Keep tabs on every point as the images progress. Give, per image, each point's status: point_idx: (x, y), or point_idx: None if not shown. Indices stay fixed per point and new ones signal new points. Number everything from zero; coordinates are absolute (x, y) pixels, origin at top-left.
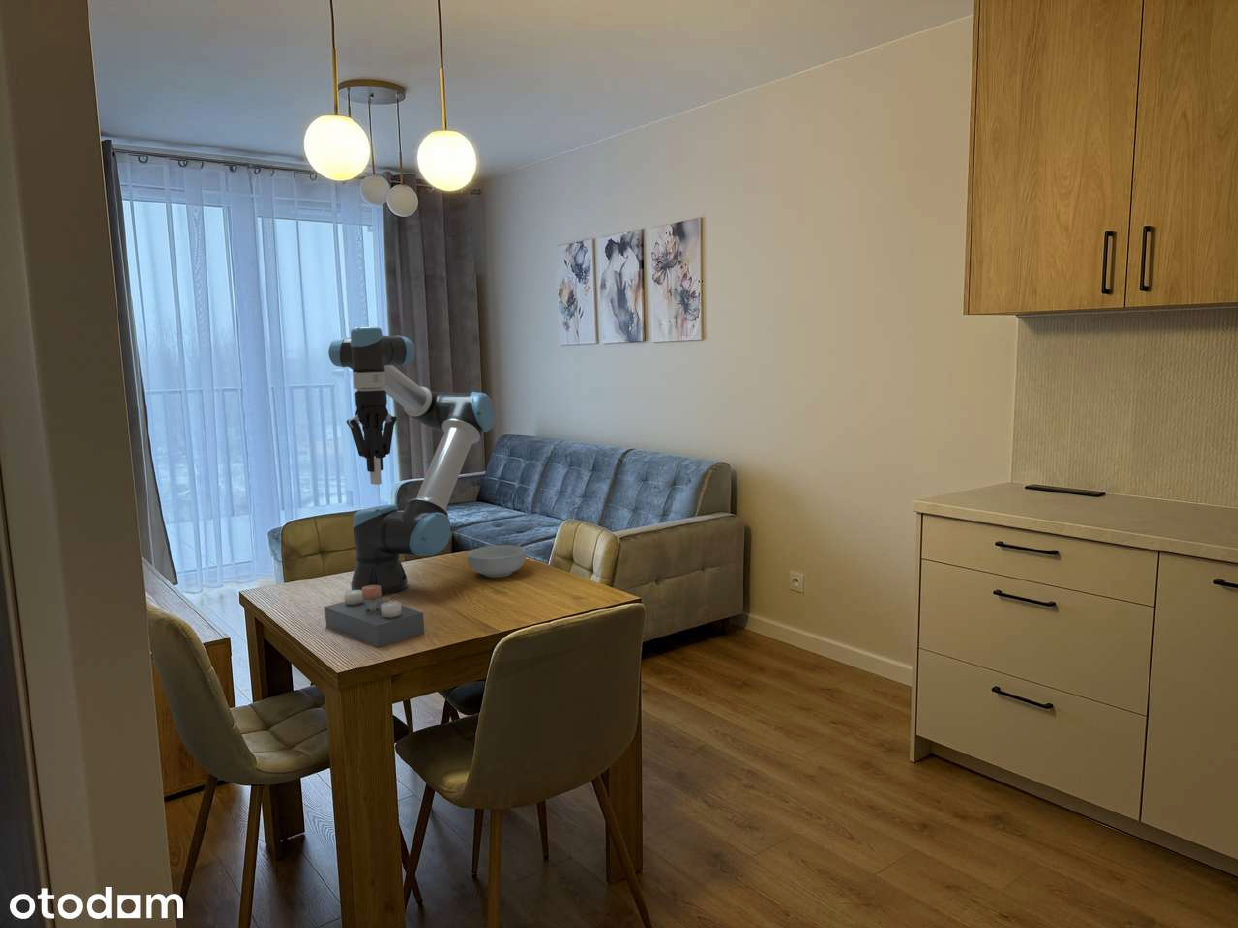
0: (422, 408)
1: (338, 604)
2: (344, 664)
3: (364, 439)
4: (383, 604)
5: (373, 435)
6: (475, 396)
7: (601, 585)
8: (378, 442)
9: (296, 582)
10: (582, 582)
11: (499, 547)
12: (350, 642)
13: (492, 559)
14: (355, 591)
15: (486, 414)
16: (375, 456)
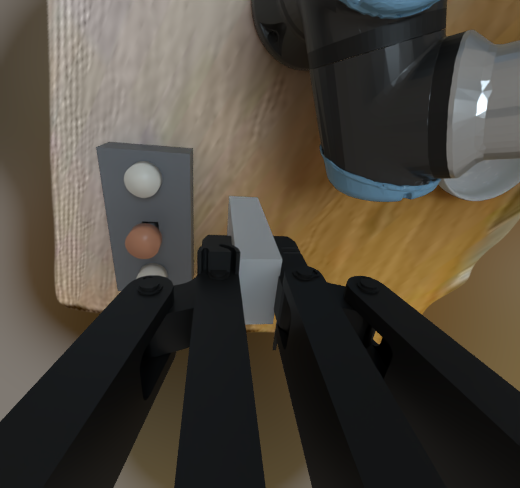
0: None
1: (122, 156)
2: (68, 289)
3: (181, 426)
4: (141, 276)
5: (348, 465)
6: None
7: (438, 298)
8: (301, 431)
9: None
10: (445, 274)
11: None
12: (107, 233)
13: (443, 182)
14: (146, 178)
15: None
16: (280, 282)
